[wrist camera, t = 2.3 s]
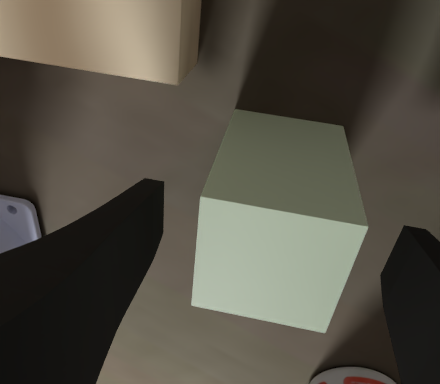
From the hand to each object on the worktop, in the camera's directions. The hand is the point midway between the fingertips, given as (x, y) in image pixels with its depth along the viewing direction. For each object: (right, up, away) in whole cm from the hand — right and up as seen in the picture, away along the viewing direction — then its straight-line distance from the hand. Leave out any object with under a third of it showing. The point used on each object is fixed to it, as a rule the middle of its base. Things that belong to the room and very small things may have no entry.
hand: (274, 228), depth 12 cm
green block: (+1, +2, +3) cm, 4 cm away
